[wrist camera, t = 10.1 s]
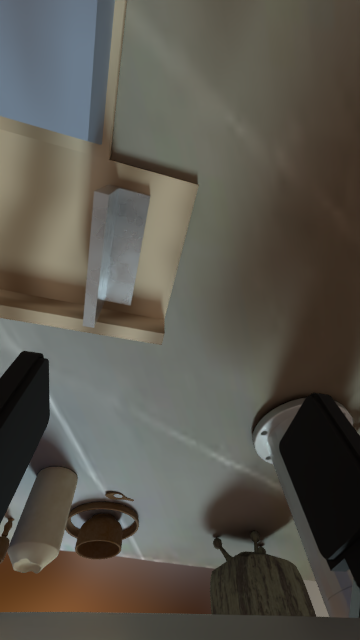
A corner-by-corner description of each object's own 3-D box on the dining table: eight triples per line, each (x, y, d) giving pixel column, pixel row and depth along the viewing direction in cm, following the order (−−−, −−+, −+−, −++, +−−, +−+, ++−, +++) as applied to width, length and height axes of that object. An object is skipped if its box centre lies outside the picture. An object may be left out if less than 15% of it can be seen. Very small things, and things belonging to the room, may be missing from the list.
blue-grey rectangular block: (120, -58, 14) (106, -131, 10) (101, 144, 18) (87, 141, 15) (2, -108, 13) (-55, -206, 9) (12, 119, 17) (-25, 108, 14)
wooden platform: (246, -5, 15) (289, -91, 10) (160, 332, 27) (159, 373, 21) (-286, -231, 11) (-678, -573, 6) (-121, 282, 23) (-207, 318, 17)
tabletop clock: (203, 539, 51) (233, 814, 30) (231, 518, 47) (288, 814, 26) (261, 551, 55) (325, 798, 34) (291, 532, 52) (383, 796, 30)
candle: (63, 461, 36) (33, 554, 28) (85, 481, 39) (64, 572, 31) (29, 472, 37) (-11, 566, 29) (52, 491, 40) (22, 582, 31)
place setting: (108, 542, 51) (102, 584, 46) (0, 517, 44) (-21, 564, 39) (161, 501, 44) (161, 545, 39) (44, 463, 37) (25, 511, 32)
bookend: (150, 195, 20) (147, 204, 15) (131, 302, 24) (124, 333, 20) (109, 184, 19) (94, 190, 15) (97, 295, 24) (82, 325, 19)
